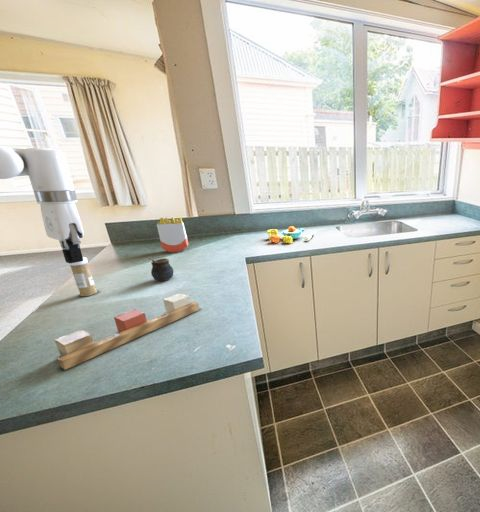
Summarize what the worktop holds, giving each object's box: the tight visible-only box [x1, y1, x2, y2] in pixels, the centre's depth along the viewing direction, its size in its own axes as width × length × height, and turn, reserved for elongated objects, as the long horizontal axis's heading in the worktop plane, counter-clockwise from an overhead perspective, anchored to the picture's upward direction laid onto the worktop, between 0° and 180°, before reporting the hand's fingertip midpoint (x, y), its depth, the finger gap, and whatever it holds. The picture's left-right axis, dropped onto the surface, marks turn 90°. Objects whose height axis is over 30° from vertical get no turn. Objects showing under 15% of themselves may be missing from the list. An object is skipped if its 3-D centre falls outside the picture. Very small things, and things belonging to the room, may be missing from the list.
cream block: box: [162, 292, 192, 314], centre depth 93 cm, size 5×5×5 cm
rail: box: [57, 301, 200, 371], centre depth 82 cm, size 32×2×2 cm, turn 155°
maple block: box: [54, 329, 95, 357], centre depth 72 cm, size 5×5×5 cm
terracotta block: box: [113, 309, 148, 333], centre depth 83 cm, size 5×5×5 cm
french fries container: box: [156, 216, 189, 253], centre depth 153 cm, size 5×11×18 cm, turn 114°
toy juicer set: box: [266, 225, 316, 244], centre depth 178 cm, size 29×18×8 cm, turn 109°
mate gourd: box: [146, 256, 174, 282], centre depth 117 cm, size 7×8×10 cm
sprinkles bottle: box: [68, 256, 98, 297], centre depth 103 cm, size 5×5×14 cm
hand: (74, 261), depth 85 cm, fingers closed
